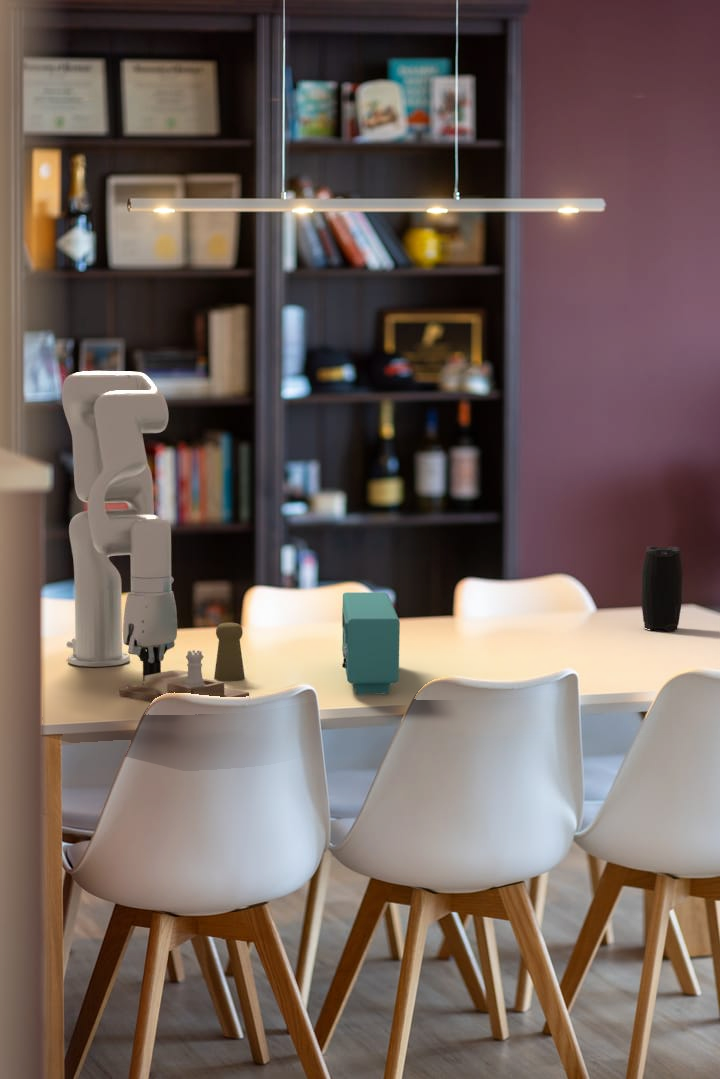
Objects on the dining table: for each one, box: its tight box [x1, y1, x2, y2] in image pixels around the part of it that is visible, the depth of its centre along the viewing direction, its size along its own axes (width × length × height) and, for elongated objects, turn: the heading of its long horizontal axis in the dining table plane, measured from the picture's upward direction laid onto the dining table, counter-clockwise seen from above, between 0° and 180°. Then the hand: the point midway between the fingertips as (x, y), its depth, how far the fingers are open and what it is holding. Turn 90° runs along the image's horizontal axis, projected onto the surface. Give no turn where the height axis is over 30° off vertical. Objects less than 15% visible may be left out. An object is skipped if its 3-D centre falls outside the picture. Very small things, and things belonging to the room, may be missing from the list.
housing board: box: [118, 678, 250, 703], centre depth 275 cm, size 20×14×3 cm
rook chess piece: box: [184, 649, 206, 687], centre depth 271 cm, size 4×4×8 cm
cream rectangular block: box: [143, 669, 188, 694], centre depth 275 cm, size 6×8×3 cm
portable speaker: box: [641, 545, 684, 632], centre depth 351 cm, size 9×9×20 cm
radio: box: [341, 592, 401, 695], centre depth 291 cm, size 34×10×15 cm, turn 3°
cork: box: [213, 622, 246, 682], centre depth 292 cm, size 6×6×11 cm
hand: (151, 681), depth 279 cm, fingers closed
